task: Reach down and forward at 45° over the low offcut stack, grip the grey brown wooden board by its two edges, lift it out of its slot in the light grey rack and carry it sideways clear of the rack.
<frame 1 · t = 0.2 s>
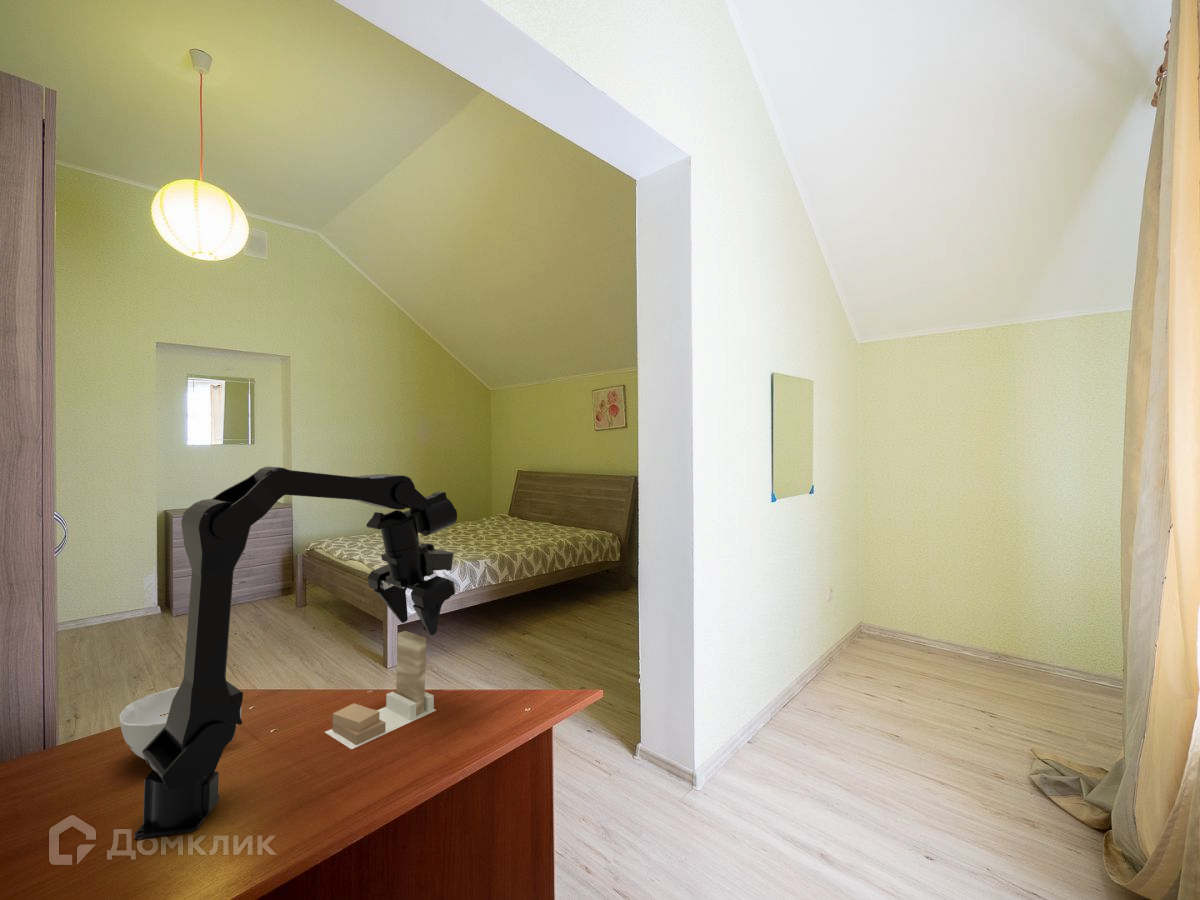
hand: (418, 627, 94), 15 cm above the table, tool pointing down, fingers open, 9 cm apart
grey brown wooden board: (409, 708, 93), point 1 cm above the table, touching offcut rack
teacup: (182, 754, 80), on the table
offcut rack: (409, 714, 93), on the table
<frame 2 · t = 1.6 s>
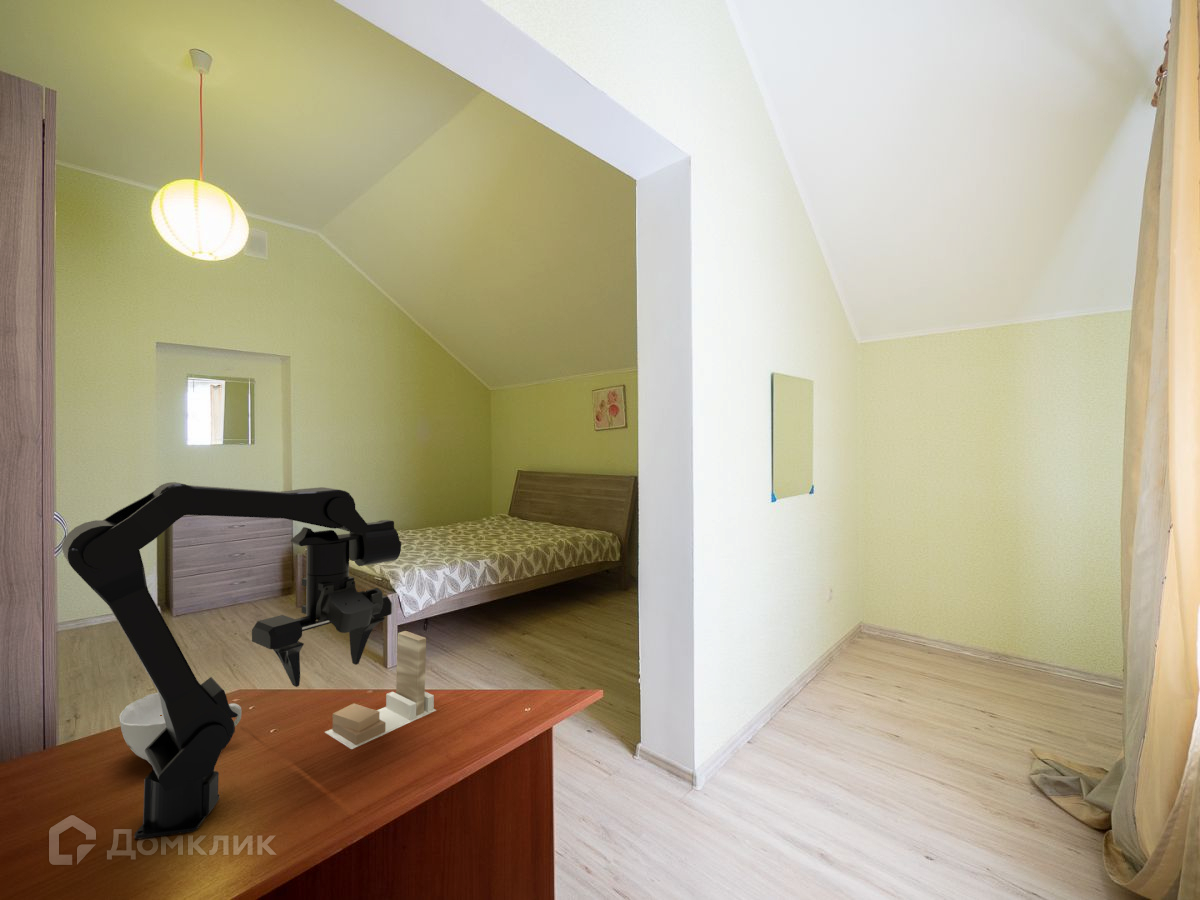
hand: (327, 674, 79), 13 cm above the table, tool pointing down, fingers open, 9 cm apart
nothing on the table moved.
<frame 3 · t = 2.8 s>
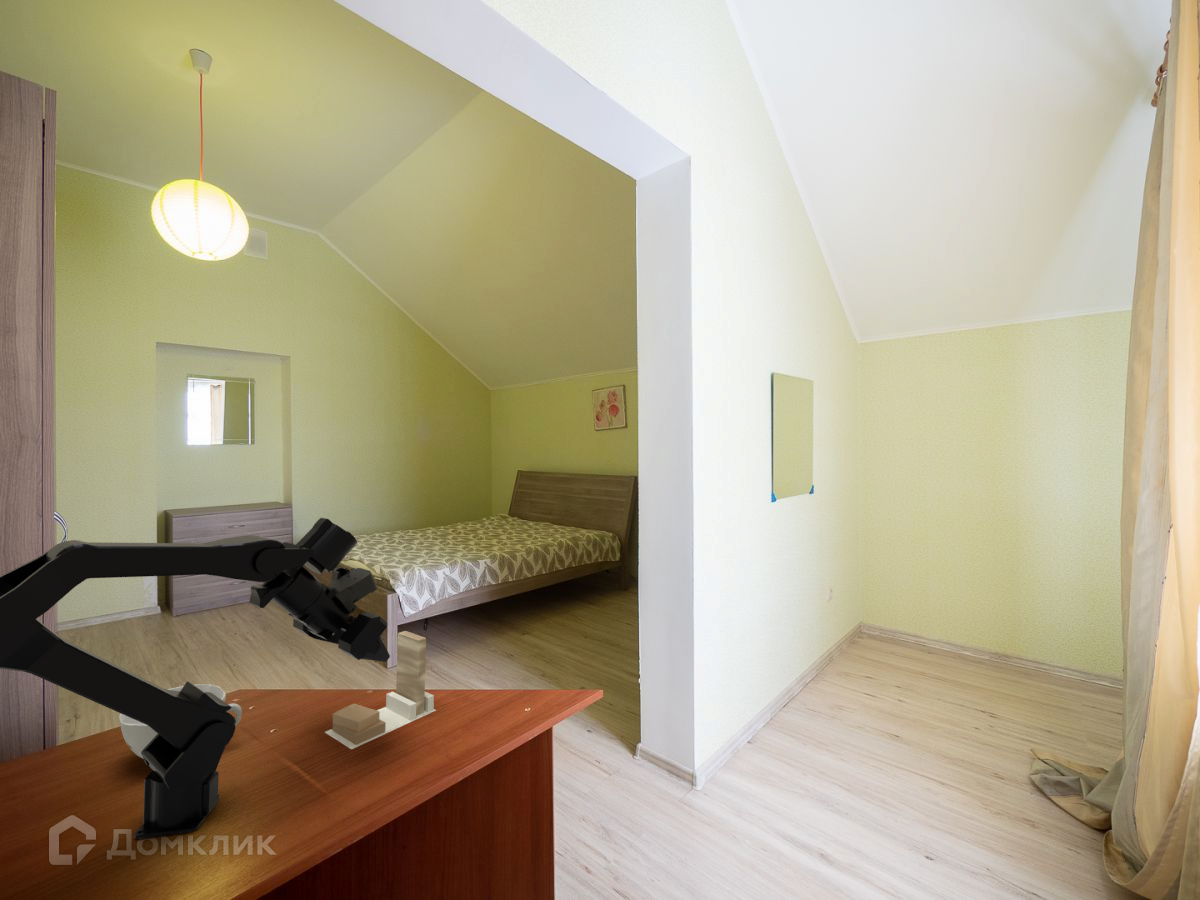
hand: (371, 651, 87), 13 cm above the table, tool tilted 45°, fingers open, 9 cm apart
nothing on the table moved.
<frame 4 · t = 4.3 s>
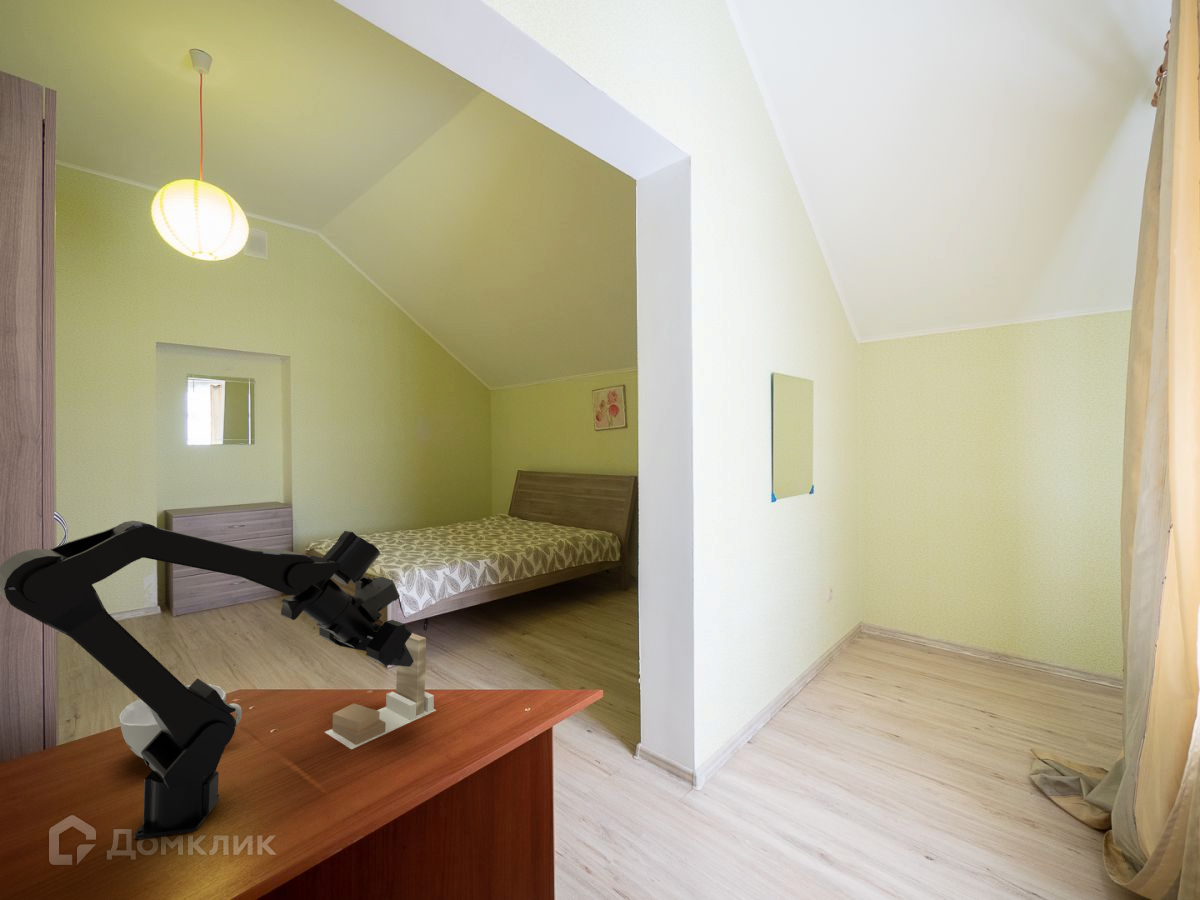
hand: (395, 657, 91), 11 cm above the table, tool tilted 45°, fingers open, 9 cm apart
nothing on the table moved.
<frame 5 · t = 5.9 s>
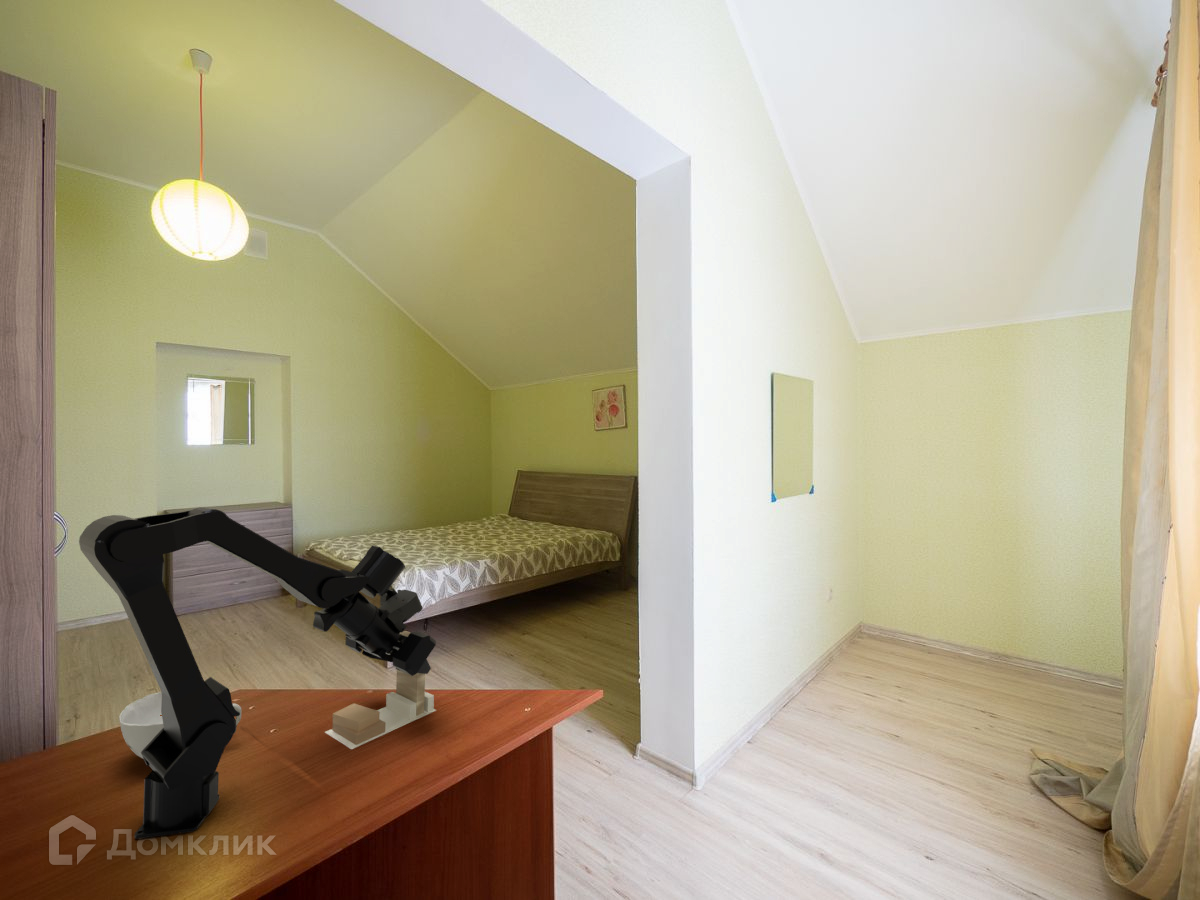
hand: (417, 666, 94), 8 cm above the table, tool tilted 45°, fingers closed on grey brown wooden board, 6 cm apart
grey brown wooden board: (409, 708, 93), point 1 cm above the table, touching gripper, offcut rack
everything else where it was.
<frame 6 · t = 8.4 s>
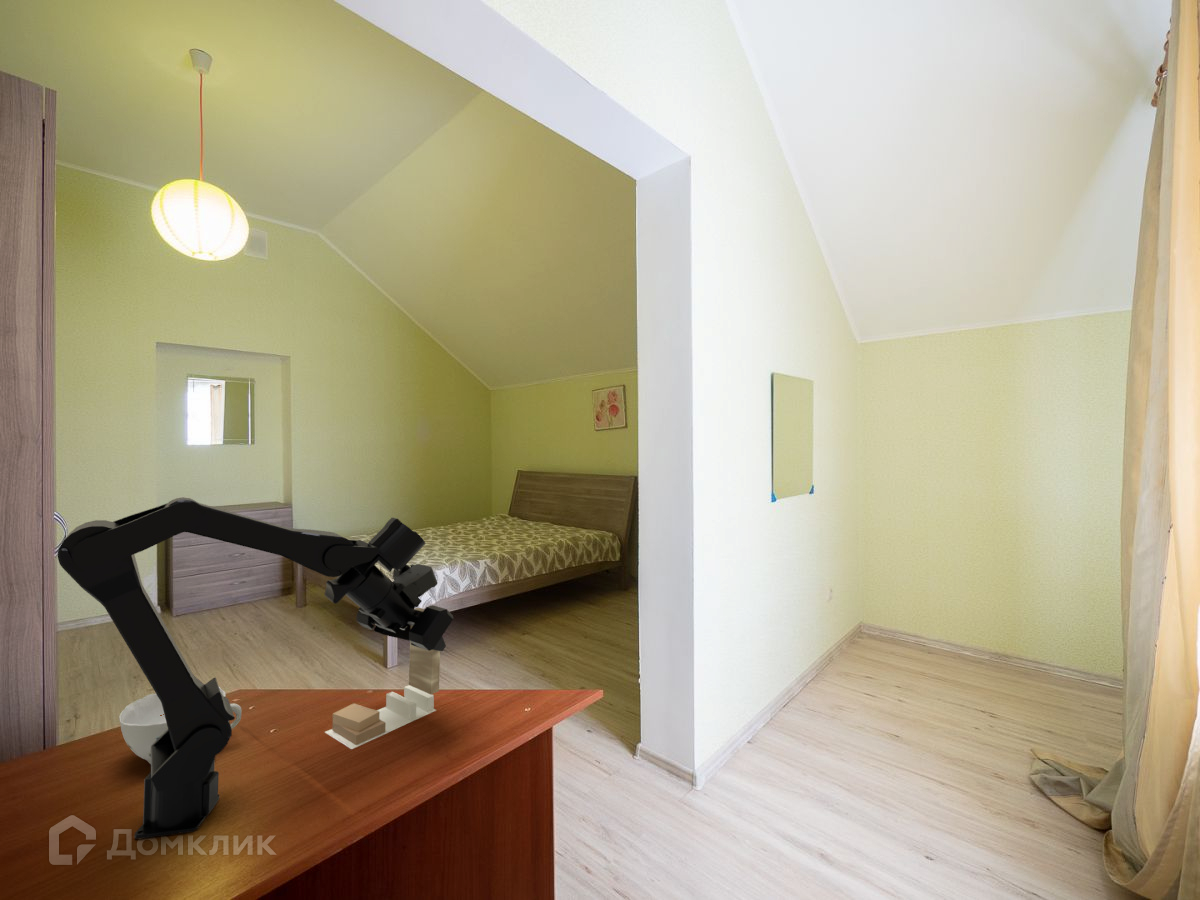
hand: (431, 644, 91), 13 cm above the table, tool tilted 45°, fingers closed on grey brown wooden board, 6 cm apart
grey brown wooden board: (423, 688, 90), point 6 cm above the table, touching gripper
everything else where it was.
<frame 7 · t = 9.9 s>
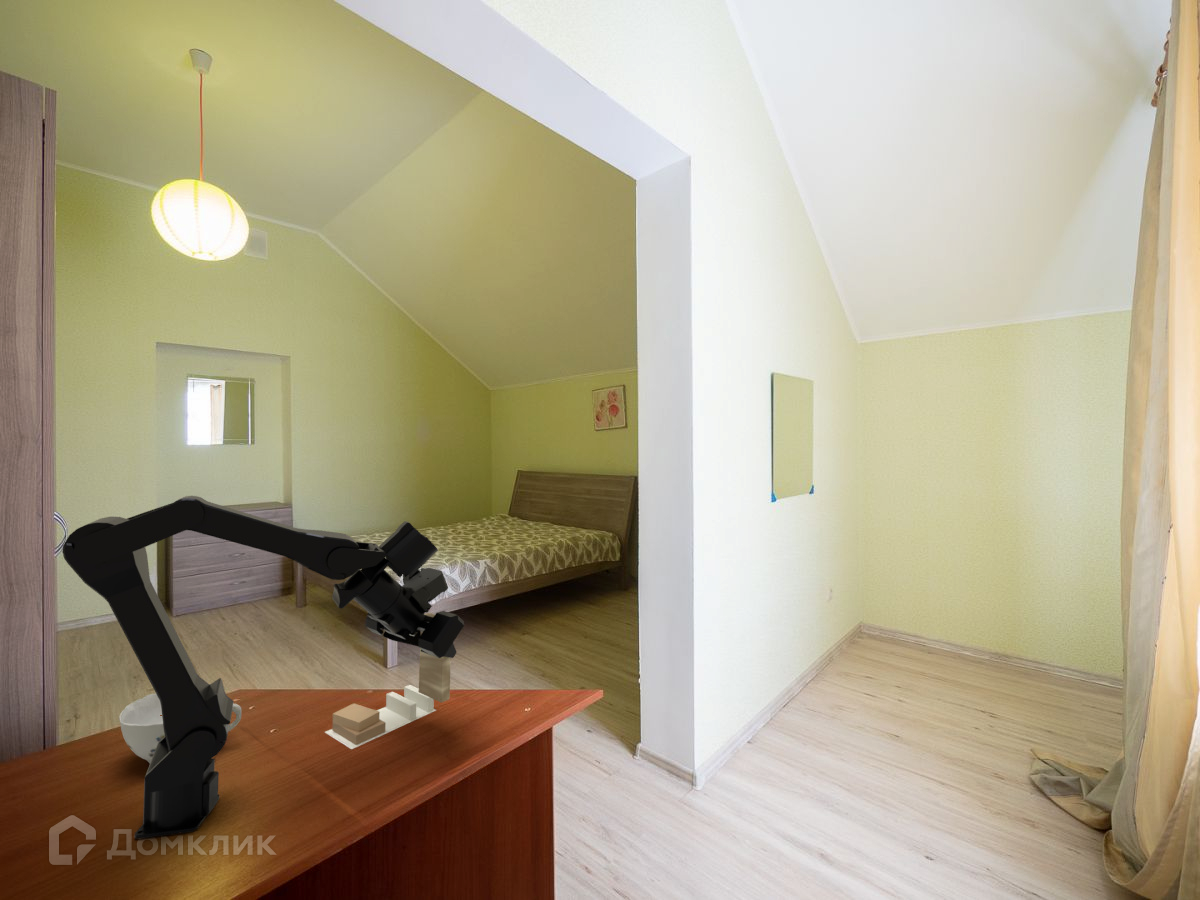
hand: (442, 650, 88), 13 cm above the table, tool tilted 45°, fingers closed on grey brown wooden board, 6 cm apart
grey brown wooden board: (433, 695, 87), point 6 cm above the table, touching gripper
everything else where it was.
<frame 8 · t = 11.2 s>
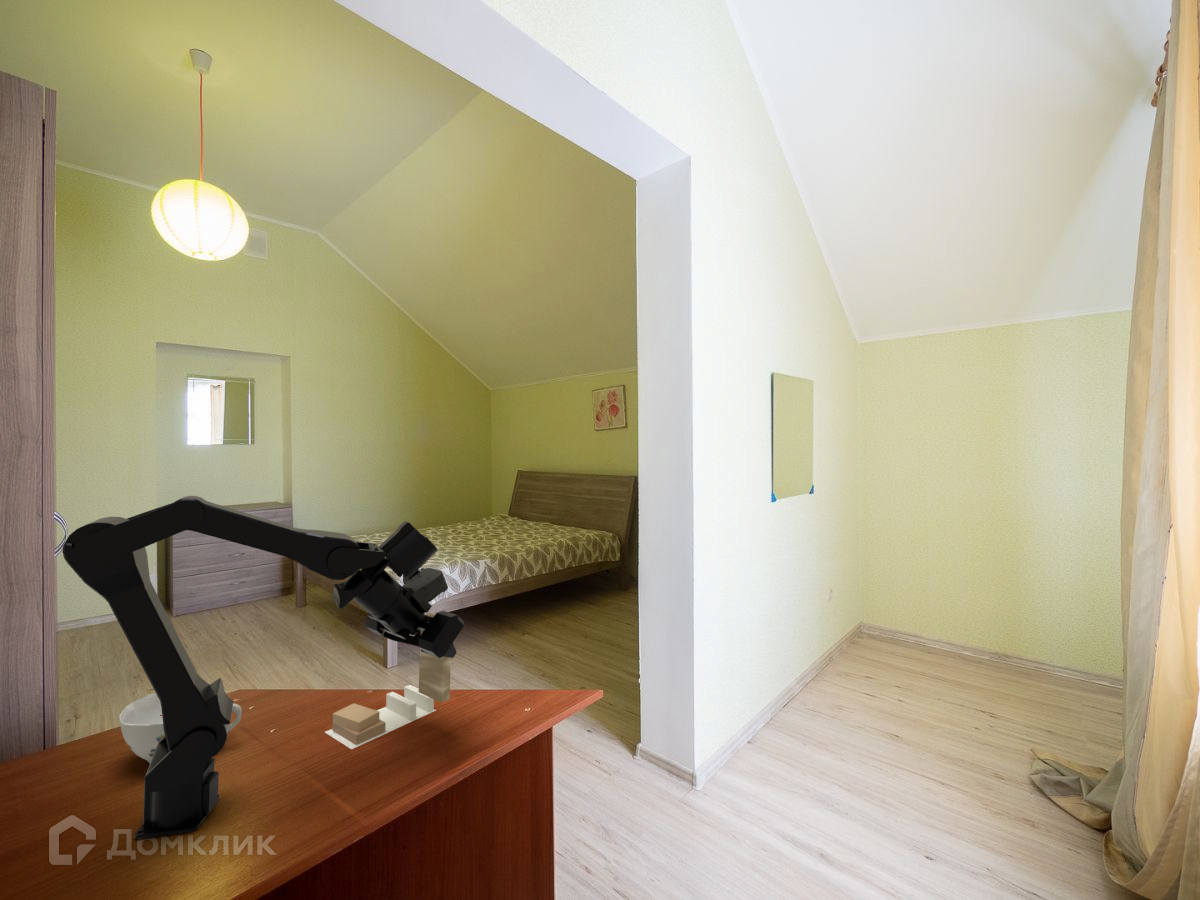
hand: (442, 650, 88), 13 cm above the table, tool tilted 45°, fingers closed on grey brown wooden board, 6 cm apart
grey brown wooden board: (433, 695, 87), point 6 cm above the table, touching gripper
everything else where it was.
at the end: the gripper is holding grey brown wooden board; grey brown wooden board point 6.4 cm above the table; grey brown wooden board moved 10.3 cm from its start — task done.
